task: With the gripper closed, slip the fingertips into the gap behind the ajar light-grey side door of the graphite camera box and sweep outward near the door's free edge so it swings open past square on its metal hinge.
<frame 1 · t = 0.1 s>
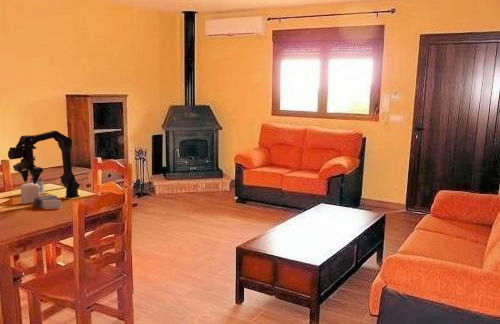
hand: (30, 183, 255), 15 cm above the table, fingers open, 9 cm apart
camera body: (46, 205, 260), on the table
side door: (51, 204, 253), point 3 cm above the table, hinge at 50.0°
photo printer: (31, 203, 266), on the table
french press: (36, 192, 291), on the table
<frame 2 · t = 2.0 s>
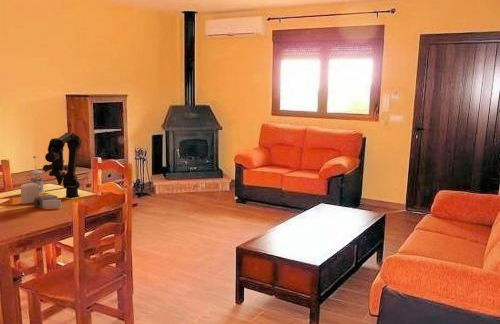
hand: (59, 184, 262), 12 cm above the table, fingers closed
nothing on the table moved.
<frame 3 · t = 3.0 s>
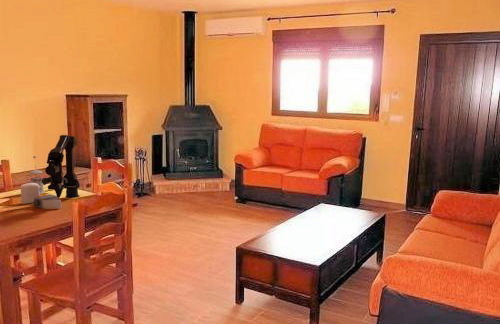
hand: (58, 197, 256), 6 cm above the table, fingers closed
nothing on the table moved.
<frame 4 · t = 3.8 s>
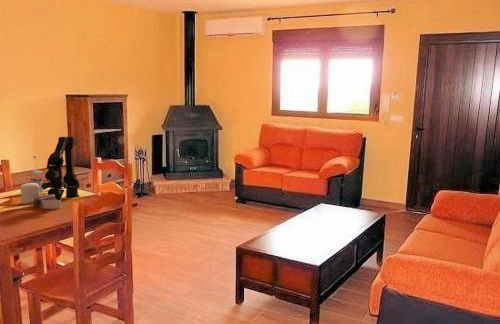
hand: (58, 202, 255), 3 cm above the table, fingers closed
side door: (51, 204, 253), point 3 cm above the table, hinge at 50.7°, touching gripper
everything else where it was.
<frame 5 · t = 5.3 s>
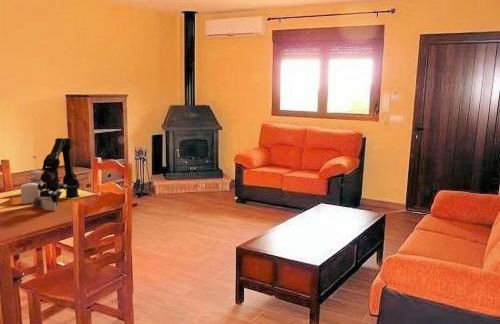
hand: (55, 204, 251), 3 cm above the table, fingers closed
side door: (48, 205, 251), point 3 cm above the table, hinge at 82.8°, touching gripper
everything else where it was.
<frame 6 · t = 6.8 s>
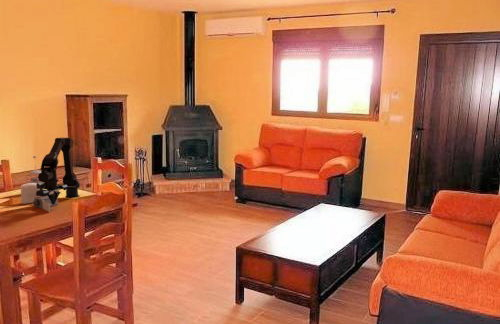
hand: (53, 204, 252), 3 cm above the table, fingers closed
side door: (45, 206, 249), point 3 cm above the table, hinge at 104.3°
everything else where it was.
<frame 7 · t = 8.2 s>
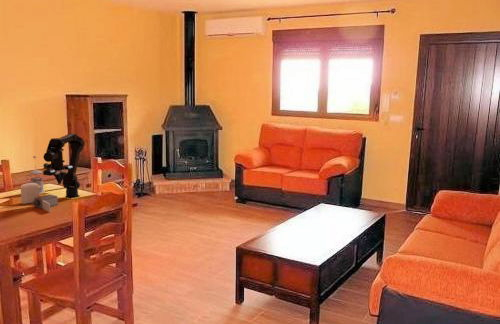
hand: (59, 183, 265), 12 cm above the table, fingers closed
nothing on the table moved.
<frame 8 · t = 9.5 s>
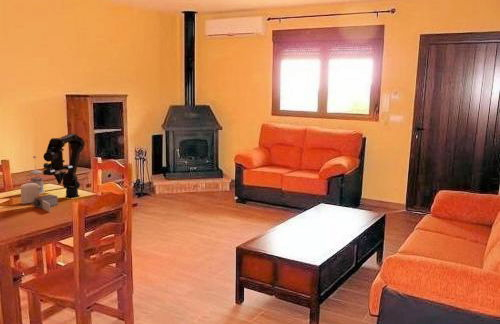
hand: (59, 183, 265), 12 cm above the table, fingers closed
nothing on the table moved.
at the end: side door at +104° (first picture: +50°); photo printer moved 0.3 cm from its start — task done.
